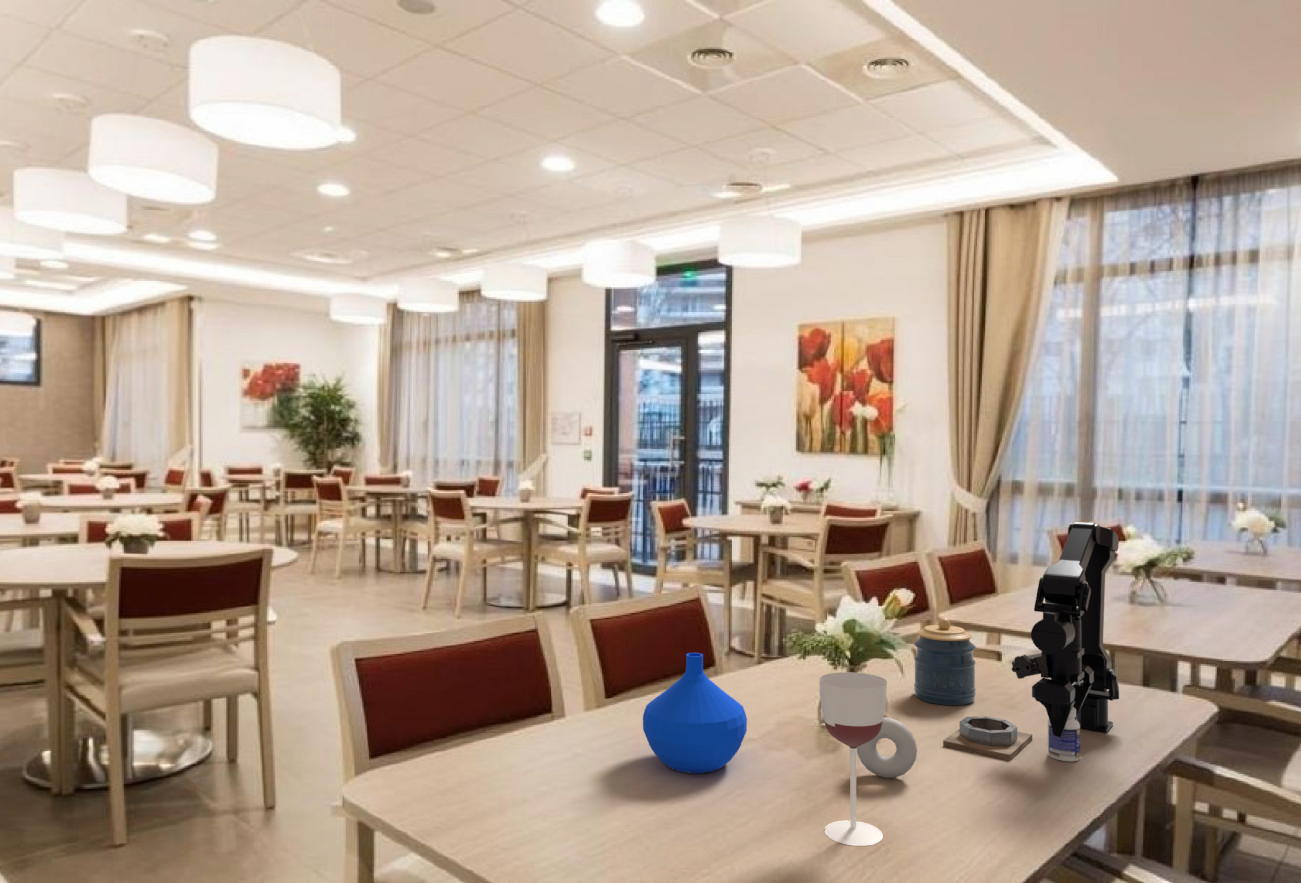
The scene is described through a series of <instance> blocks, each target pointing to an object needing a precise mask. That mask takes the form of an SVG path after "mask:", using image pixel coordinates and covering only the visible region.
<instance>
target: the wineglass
mask: <svg viewBox="0 0 1301 883" xmlns="http://www.w3.org/2000/svg"><path fill="white" fill-rule="evenodd" d="M887 689H888V681H887V680H886V679H885V678H883V677H881V676H879V675H876V674H875V675H874V674H870V673H863V672H853V671H852V672H850V671H847V672H844V671H843V672H841V671H840V672H832V673H827V674H823V675H821V676H819V698H820V705H821V710H822V717H823V722H824V726H825V729H826V730H827V732H828V733H829V734H830V735H831V737H832V738H834V739H836V740H837V741H838V742H840V743H842V744H845V745H846V746H848V747H849V752H850V753H849V754H850V755H849V762H850V763H849V764H850V765H849V767H850V768H849V770H850V771H849V775H850V776H849V780H850V782H849V784H850V785H849V787H850V788H849V790H850V791H849V793H850V795H849V796H850V800H849V802H850V803H849V804H850V805H849V808H850V809H849V813H850V814H849V817H850V818H849V820H844V819H843V820H836V821H833V822H830V823H829V824H827V825H826V826H825V827H824V829H825V828H826V829H825V831H824V830H823V831H824V834H825V835H826V837H828V839H831V840H832V841H834V842H836V843H840V844H843V845H848V846H854V847H855V846H856V847H864V846H873V845H876V844H878V843H880V841H882V840H883V837H884V835H883V832H882V830H880V829H879V828H878V827H876V826H875V825H872V824H871V823H867V822H863V821H860V820H859V821H857V747H858V746H860V745H862V744H865V743H867V742H869V741H871V740H872V739H874V738H875V737H876V736H877V735H878V734H879V732H880V730H881V727H882V723H883V718H884V717H885V711H886V704H887V703H886V702H887V691H888V690H887Z"/></svg>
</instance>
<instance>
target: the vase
mask: <svg viewBox="0 0 1301 883" xmlns="http://www.w3.org/2000/svg"><path fill="white" fill-rule="evenodd" d="M685 656H686V659H685V660H686V662H685V663H686V664H685V666H686V667H685V672H684V673H683V675H682V676H681V677H680V678H679V679H678V680H676V681H675V683H673V684H672V685H671V686H669V687H668V688H667V689H666V690H664V691H663V692H661V693H660V694H659V695H658V696H656V697H655V698H654V699H652V700H651V701H649V702H648V703H647V704H646V706H645V708H644V712H643V716H642V730H643V733H644V735H645V737H646V740H647V742H648V746H649V748H650V749H651V750H652V752H653V753H654V755H655V756H656V757H657V758H658V760H659V761H661V763H663V764H665V765H666V766H667V767H668V766H669V767H668V768H670V769H671V768H673V769H672V770H674V769H675V771H676V770H679V771H678V772H680V771H682V772H681V773H685V772H690V773H689V774H705V773H704V772H707V773H711V772H710V771H712V772H715V771H718V770H720V769H721V768H723V767H724V766H725V765H726V764H728V763H729V762H731V760H732V759H733V758H734V757H735V756H736V754H737V752H738V751H739V750H740V748H741V746H742V743H743V741H744V738H745V735H746V733H747V731H748V730H747V728H748V727H747V725H748V718H747V717H748V716H747V713H746V711H745V709H744V706H743V705H742V704H741V703H739V701H737V700H736V699H735V698H734V697H732V696H730V695H729V694H728V693H727V692H725V691H724V690H723V689H721V688H720V687H719V686H718V685H717V684H715V683H714V682H713V681H712V680H711V679H709V677H708V676H707V674H705V672H704V653H703V654H702V653H700V652H689V653H686V655H685ZM717 769H718V770H717Z"/></svg>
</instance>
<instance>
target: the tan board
mask: <svg viewBox="0 0 1301 883" xmlns="http://www.w3.org/2000/svg"><path fill="white" fill-rule="evenodd" d="M1031 741H1033V734H1031V733H1027V732H1022V731H1019V730H1017V741H1016V742H1015V743H1013V744H1012V745H1011V746H986V745H982V744H977V743H972V742H969V741H967V740H966V739H964V738H963V737H962V736H960V728H958V729H957V730H955V731H954V732H952V734H950V735H949V736H947V737H946V738H944V740H942V746H943V747H946V748H947V747H948V748H949V749H950V748H952V749H956V750H959V751H964V752H969V753H974V754H978V755H983V756H989V757H993V758H998V759H1002V760H1006V761H1011V760H1013V759H1014V757H1015V756H1017V755H1018V754H1019V753H1020V752H1022V750H1023V749H1024V748H1025V747H1026V746H1027V745H1029V743H1031Z"/></svg>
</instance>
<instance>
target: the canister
mask: <svg viewBox="0 0 1301 883" xmlns="http://www.w3.org/2000/svg"><path fill="white" fill-rule="evenodd" d="M917 634H918V636H919V637H918V638H917V639H916V640H915V641H914V642H913V645H914V647H915V648H916V651H915V655H916V657H915V655H914V657H913V660H914V683H913V686H914V687H913V690H914V694H915V697H916V698H918V699H919V700H922V701H924V702H926V703H931V704H935V705H943V706H963V705H968V704H972V703H973V702H974V701H975V699H976V698H975V697H976V695H977V694H976V692H977V691H976V690H977V689H976V680H975V679H976V678H975V677H976V676H975V674H976V670H975V668H976V660H975V659H974V651H975V650H976V645H975V644H974V643H972V642H971V641H970V639H971V638H972V634H971V633H969V632H967V631H966V630H965V629H964V628H962V627H959V626H955V625H951V621H950V619H948V618H945V617H942V618H940V619H939V620H938V622H937V624H931V625H926V626H924V627H923V628H922V629H920V630H919V631H917Z"/></svg>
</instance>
